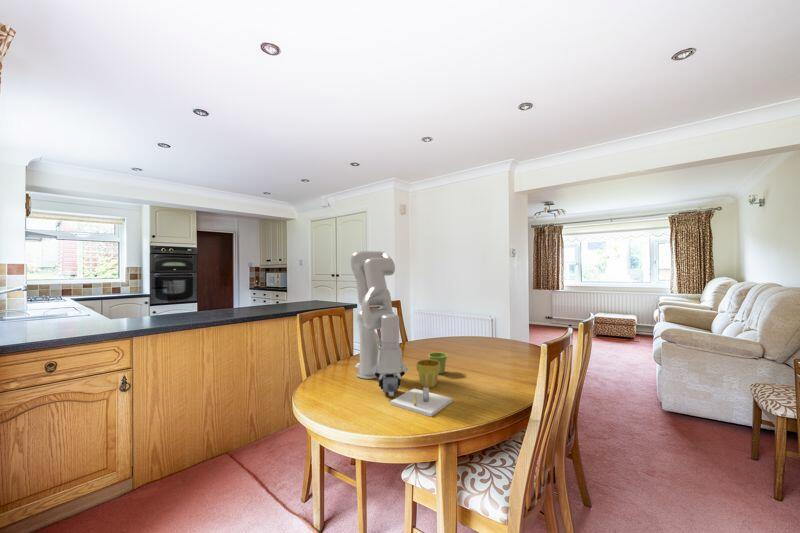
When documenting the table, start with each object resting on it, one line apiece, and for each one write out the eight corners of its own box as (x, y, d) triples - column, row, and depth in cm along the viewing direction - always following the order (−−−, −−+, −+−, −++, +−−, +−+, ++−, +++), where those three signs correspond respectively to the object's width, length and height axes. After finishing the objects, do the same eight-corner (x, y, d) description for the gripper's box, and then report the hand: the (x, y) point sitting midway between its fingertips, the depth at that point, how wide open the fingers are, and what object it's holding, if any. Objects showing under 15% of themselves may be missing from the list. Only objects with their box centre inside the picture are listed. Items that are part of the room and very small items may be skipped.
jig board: (390, 404, 126) (390, 401, 126) (413, 391, 139) (413, 388, 139) (430, 416, 115) (430, 413, 115) (452, 401, 128) (452, 398, 128)
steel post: (422, 401, 126) (421, 388, 126) (425, 399, 128) (425, 386, 128) (427, 402, 124) (426, 389, 124) (430, 400, 126) (429, 387, 126)
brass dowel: (413, 405, 122) (413, 393, 122) (414, 404, 123) (414, 392, 123) (415, 406, 121) (415, 393, 121) (417, 405, 122) (417, 393, 122)
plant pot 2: (439, 389, 140) (439, 366, 140) (415, 388, 142) (414, 365, 142) (441, 381, 150) (441, 359, 150) (418, 380, 153) (418, 358, 153)
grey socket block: (381, 386, 140) (381, 373, 140) (395, 385, 141) (395, 372, 140) (383, 396, 130) (384, 382, 130) (399, 395, 131) (399, 382, 131)
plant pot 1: (426, 374, 160) (426, 356, 160) (430, 368, 169) (430, 351, 169) (446, 376, 157) (445, 358, 157) (449, 370, 166) (448, 352, 166)
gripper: (369, 347, 131) (369, 392, 132) (412, 346, 134) (411, 390, 135) (368, 342, 139) (368, 385, 140) (409, 341, 141) (408, 383, 142)
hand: (389, 387), depth 137 cm, fingers closed on grey socket block, 6 cm apart
